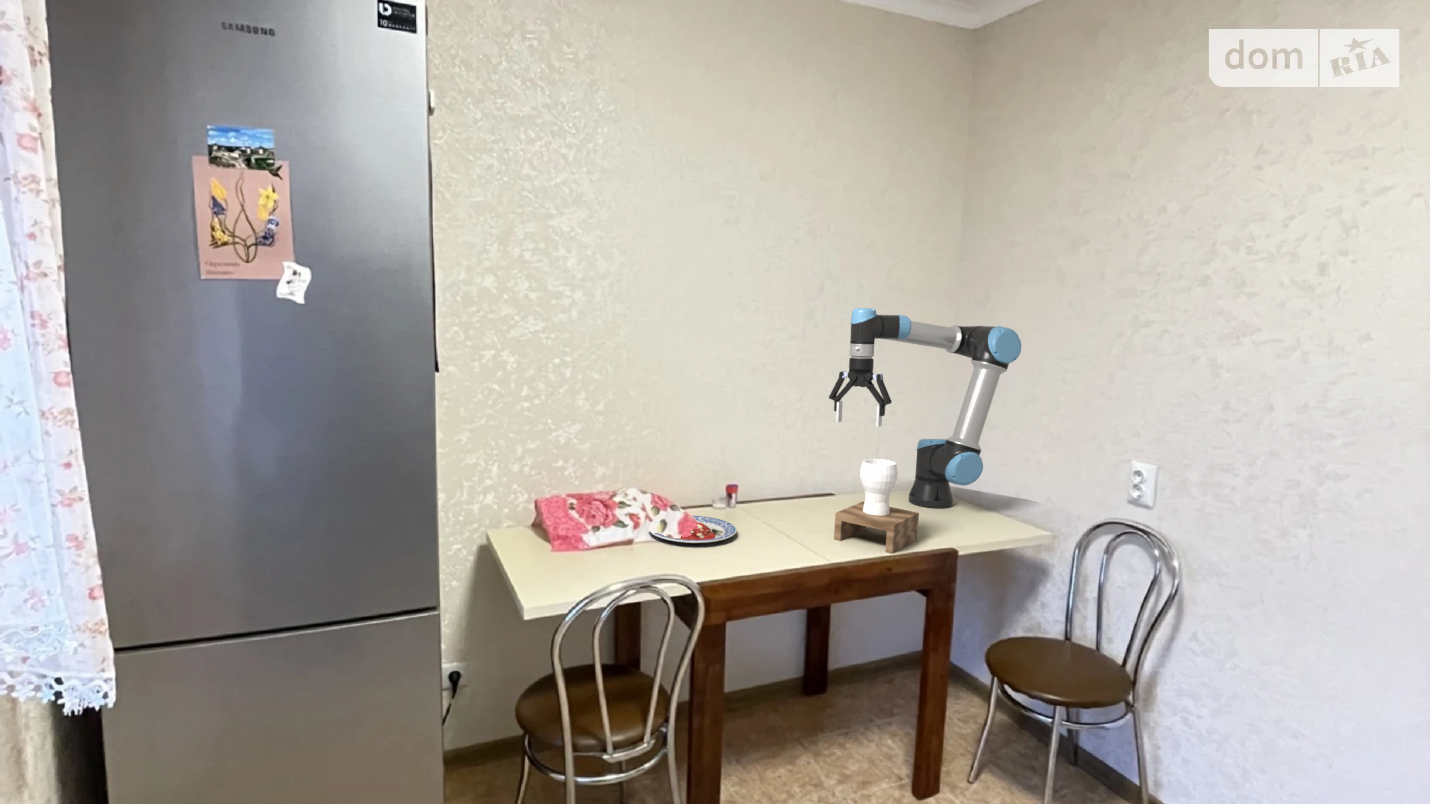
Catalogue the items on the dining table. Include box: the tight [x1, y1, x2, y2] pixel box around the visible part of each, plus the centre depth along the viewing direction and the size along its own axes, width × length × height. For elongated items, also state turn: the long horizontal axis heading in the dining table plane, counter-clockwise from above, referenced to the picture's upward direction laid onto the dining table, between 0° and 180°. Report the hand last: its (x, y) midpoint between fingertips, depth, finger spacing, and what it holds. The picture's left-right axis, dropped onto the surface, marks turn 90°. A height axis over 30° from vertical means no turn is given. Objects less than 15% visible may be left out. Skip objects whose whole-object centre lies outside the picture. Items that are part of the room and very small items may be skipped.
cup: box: [859, 458, 898, 516], centre depth 212 cm, size 11×11×15 cm
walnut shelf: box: [833, 501, 920, 554], centre depth 213 cm, size 18×18×8 cm
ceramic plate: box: [652, 515, 737, 544], centre depth 211 cm, size 26×26×3 cm
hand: (858, 424), depth 232 cm, fingers open, 13 cm apart
